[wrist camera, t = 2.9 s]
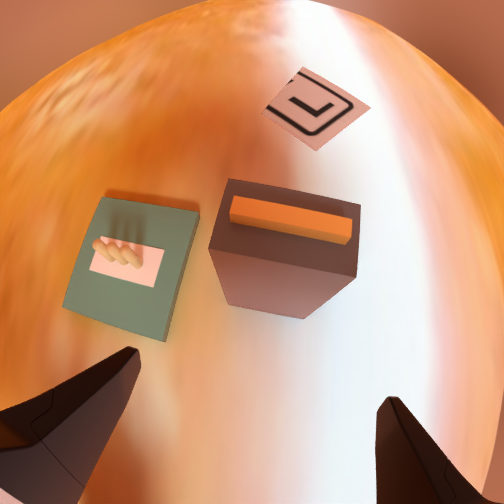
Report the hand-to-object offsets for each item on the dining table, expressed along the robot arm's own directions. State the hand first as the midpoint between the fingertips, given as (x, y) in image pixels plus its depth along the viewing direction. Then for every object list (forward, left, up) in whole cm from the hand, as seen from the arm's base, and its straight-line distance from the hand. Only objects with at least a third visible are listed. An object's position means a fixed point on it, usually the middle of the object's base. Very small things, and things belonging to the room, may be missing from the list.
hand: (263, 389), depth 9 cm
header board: (+13, -4, -13) cm, 19 cm away
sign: (+12, -33, -13) cm, 38 cm away
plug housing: (+1, -6, -13) cm, 14 cm away
